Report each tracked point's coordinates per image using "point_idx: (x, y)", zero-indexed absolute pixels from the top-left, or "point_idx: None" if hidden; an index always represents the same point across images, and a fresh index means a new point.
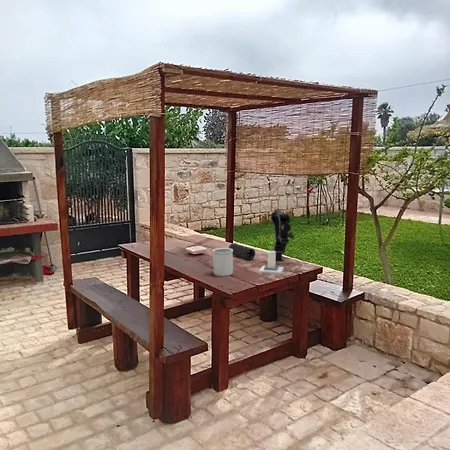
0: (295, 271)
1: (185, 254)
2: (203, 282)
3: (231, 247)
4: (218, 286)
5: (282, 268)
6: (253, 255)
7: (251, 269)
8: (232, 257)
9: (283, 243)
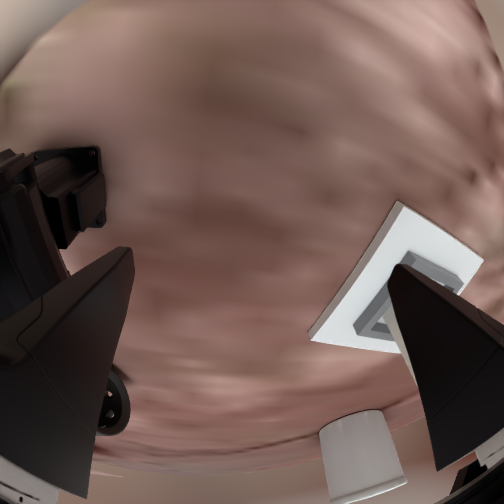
0: (483, 147)
1: None
2: (403, 427)
3: None
4: None
5: (438, 230)
6: None
7: (338, 374)
8: (388, 463)
9: (482, 406)
